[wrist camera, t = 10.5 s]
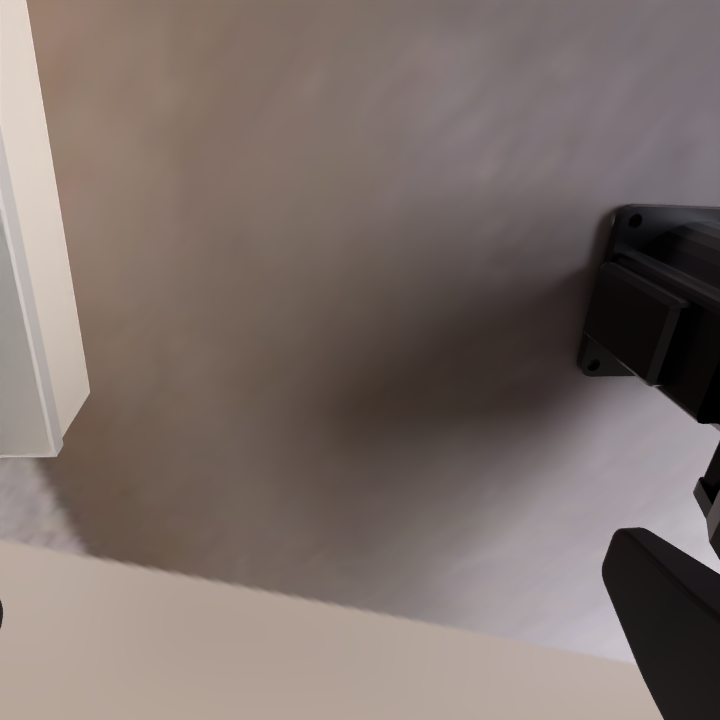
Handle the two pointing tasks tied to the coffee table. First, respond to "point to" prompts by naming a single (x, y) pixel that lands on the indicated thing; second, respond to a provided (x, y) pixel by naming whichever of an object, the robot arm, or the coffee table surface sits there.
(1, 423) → the white rectangular box
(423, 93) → the coffee table surface
